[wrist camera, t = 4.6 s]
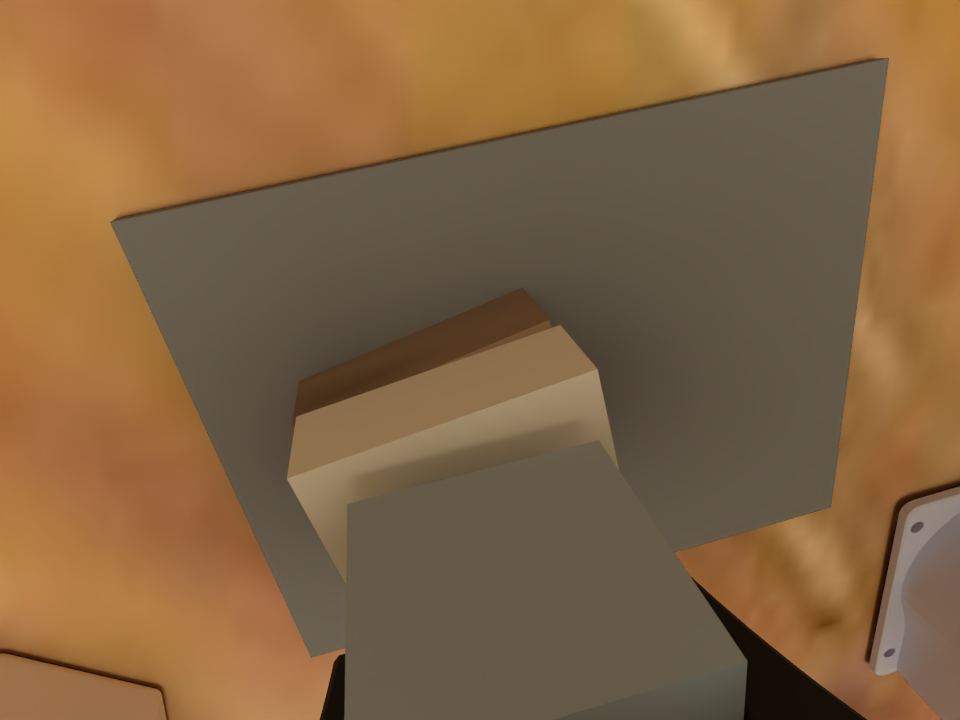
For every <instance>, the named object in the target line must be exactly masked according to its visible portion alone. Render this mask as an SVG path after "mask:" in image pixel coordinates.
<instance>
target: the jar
mask: <svg viewBox="0 0 960 720" xmlns="http://www.w3.org/2000/svg"><path fill="white" fill-rule="evenodd" d="M0 720H167V719H166V713H165V708H164V703H163V698H162V694H161V692H160V691H159V690H158V689H155V688H151V687H147V686H143V685H138V684H134V683H130V682H125V681H121V680H117V679H113V678H108V677H104V676H100V675H96V674H91V673H87V672H83V671H78V670H74V669H70V668H66V667H61V666H57V665H53V664H49V663H44V662H40V661H36V660H31V659H27V658H23V657H19V656H14V655H10V654H5V653H2V654H0Z"/></svg>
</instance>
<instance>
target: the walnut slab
mask: <svg viewBox="0 0 960 720" xmlns="http://www.w3.org/2000/svg"><path fill="white" fill-rule="evenodd" d="M550 328H551V325H550V322H549V319H548V318H547V317H546V316H545V314H544V313H543V312H542V311H541V310H540V308H539V307H538V306H537V305H536V303H535V302H534V301H533V300H532V298H531V297H530V296H529V295H528V294H527V292H526V291H525V290H524V289H523V288H521V289H518V290H516V291H513V292H511V293H509V294H506V295H504V296H502V297H499V298H497V299H494V300H492V301H490V302H487V303H485V304H482V305H480V306H478V307H475V308H473V309H470V310H468V311H466V312H463V313H461V314H458V315H456V316H454V317H451V318H449V319H447V320H444V321H442V322H439V323H437V324H435V325H432V326H430V327H427V328H425V329H423V330H420V331H418V332H415V333H413V334H411V335H408V336H406V337H403V338H401V339H399V340H396V341H394V342H391V343H389V344H387V345H384V346H382V347H380V348H377V349H375V350H372V351H370V352H368V353H365V354H363V355H360V356H358V357H356V358H353V359H351V360H348V361H346V362H344V363H341V364H339V365H336V366H334V367H332V368H329V369H327V370H325V371H322V372H320V373H317V374H315V375H313V376H310V377H308V378H305V379H303V380H301V381H299V384H298V390H297V396H296V402H295V409H294V415H293V421H292V427H291V428H292V430H293V431H294V428H295V422H296V417H297V416H300V415H303V414H305V413H308V412H311V411H314V410H317V409H320V408H323V407H326V406H328V405H331V404H334V403H337V402H340V401H343V400H346V399H349V398H351V397H354V396H357V395H360V394H363V393H366V392H369V391H372V390H374V389H377V388H380V387H383V386H386V385H389V384H392V383H394V382H397V381H400V380H403V379H406V378H409V377H412V376H415V375H417V374H420V373H423V372H426V371H429V370H432V369H435V368H438V367H440V366H443V365H446V364H449V363H452V362H455V361H458V360H461V359H463V358H466V357H469V356H472V355H475V354H478V353H481V352H484V351H486V350H489V349H492V348H495V347H498V346H501V345H504V344H507V343H509V342H512V341H515V340H518V339H521V338H524V337H527V336H530V335H532V334H535V333H538V332H541V331H544V330H547V329H550Z"/></svg>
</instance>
